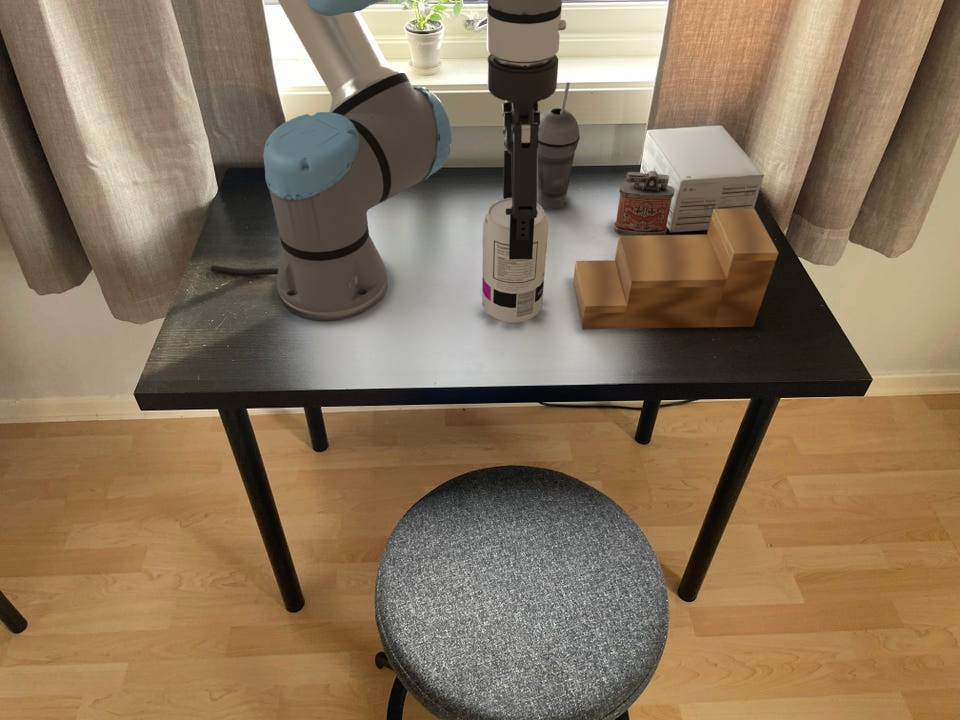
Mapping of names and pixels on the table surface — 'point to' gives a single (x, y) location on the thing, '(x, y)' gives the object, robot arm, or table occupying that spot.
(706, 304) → the step shelf
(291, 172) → the robot arm
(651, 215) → the lighter
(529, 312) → the supplement can
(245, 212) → the table surface
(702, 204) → the supplement box
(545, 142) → the beverage cup
